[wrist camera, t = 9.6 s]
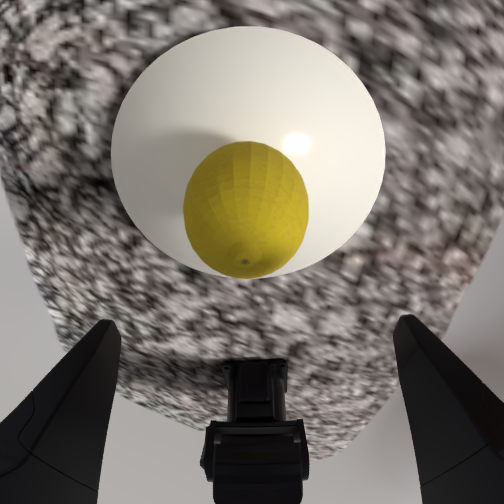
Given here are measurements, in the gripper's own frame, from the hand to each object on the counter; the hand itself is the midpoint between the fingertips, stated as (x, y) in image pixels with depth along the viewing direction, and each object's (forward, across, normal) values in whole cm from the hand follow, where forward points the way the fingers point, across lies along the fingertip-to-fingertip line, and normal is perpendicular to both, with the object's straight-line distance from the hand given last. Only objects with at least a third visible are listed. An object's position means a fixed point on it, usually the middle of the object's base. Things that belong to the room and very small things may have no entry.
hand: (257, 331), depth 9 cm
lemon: (+11, 0, 0) cm, 11 cm away
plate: (+12, 0, -1) cm, 12 cm away
